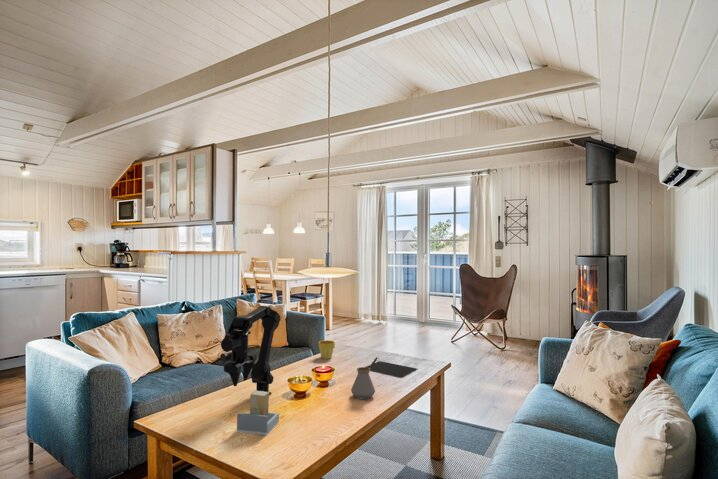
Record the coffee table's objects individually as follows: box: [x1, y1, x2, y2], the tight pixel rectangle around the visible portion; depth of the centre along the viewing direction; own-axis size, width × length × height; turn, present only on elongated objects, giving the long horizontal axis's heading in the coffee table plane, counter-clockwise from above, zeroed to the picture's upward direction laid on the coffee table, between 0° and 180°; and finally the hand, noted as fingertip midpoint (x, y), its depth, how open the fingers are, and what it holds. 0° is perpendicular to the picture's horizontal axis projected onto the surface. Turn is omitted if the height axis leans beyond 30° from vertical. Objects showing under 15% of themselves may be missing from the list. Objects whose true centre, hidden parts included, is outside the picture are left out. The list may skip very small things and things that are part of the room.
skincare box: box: [249, 389, 270, 416], centre depth 157 cm, size 6×4×12 cm
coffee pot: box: [350, 357, 380, 400], centre depth 195 cm, size 21×12×15 cm, turn 152°
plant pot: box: [318, 339, 336, 360], centre depth 255 cm, size 10×10×10 cm
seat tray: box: [236, 411, 280, 436], centre depth 157 cm, size 12×12×7 cm
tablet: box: [365, 360, 419, 379], centre depth 233 cm, size 27×1×20 cm
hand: (240, 382), depth 172 cm, fingers open, 9 cm apart
